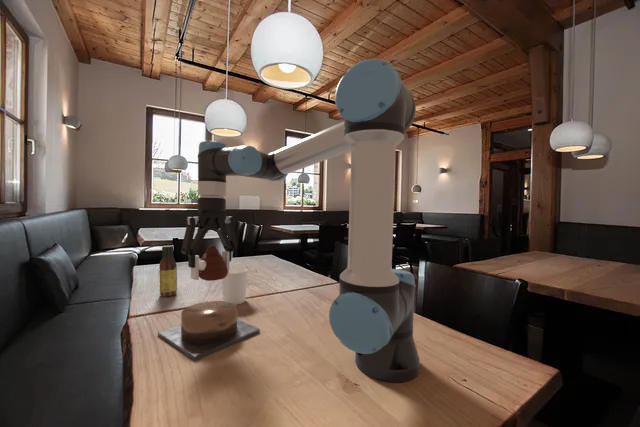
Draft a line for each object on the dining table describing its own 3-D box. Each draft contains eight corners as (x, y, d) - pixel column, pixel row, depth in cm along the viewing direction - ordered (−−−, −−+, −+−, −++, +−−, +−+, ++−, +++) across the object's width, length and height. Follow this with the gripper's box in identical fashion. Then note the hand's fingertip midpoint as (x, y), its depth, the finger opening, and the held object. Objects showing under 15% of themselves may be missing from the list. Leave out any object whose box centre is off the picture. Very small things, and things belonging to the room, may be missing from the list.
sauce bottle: (180, 294, 116) (180, 246, 115) (164, 298, 111) (165, 247, 110) (171, 291, 119) (171, 244, 119) (155, 295, 114) (156, 246, 114)
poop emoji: (232, 278, 80) (232, 245, 80) (201, 283, 75) (201, 248, 74) (220, 271, 88) (220, 241, 88) (190, 275, 83) (190, 243, 82)
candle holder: (239, 307, 104) (240, 274, 103) (215, 304, 106) (215, 272, 105) (251, 298, 113) (252, 268, 113) (229, 296, 115) (229, 267, 115)
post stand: (259, 332, 84) (260, 308, 83) (194, 360, 68) (195, 331, 68) (220, 314, 96) (221, 294, 96) (157, 335, 80) (158, 310, 80)
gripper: (236, 198, 92) (234, 267, 92) (166, 195, 74) (165, 280, 75) (250, 198, 87) (249, 271, 88) (180, 195, 70) (179, 286, 71)
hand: (210, 275), depth 81 cm, fingers closed on poop emoji, 9 cm apart
